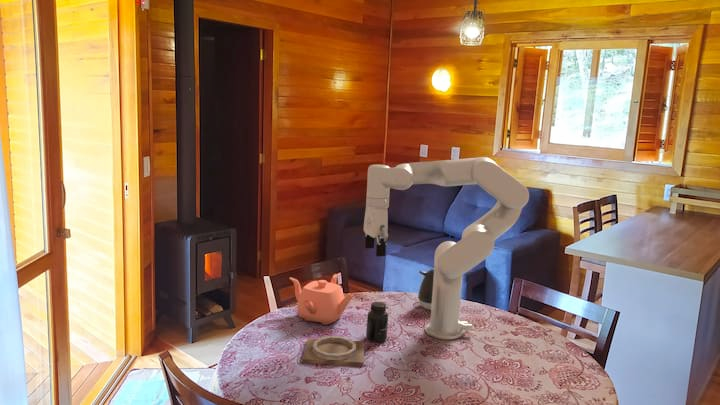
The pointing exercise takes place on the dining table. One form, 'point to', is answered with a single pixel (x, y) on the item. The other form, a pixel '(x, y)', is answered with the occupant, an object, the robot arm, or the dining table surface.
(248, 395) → the dining table surface
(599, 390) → the dining table surface
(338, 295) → the teapot
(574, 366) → the dining table surface
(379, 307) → the supplement bottle
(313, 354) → the ring board
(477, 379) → the dining table surface
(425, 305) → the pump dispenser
